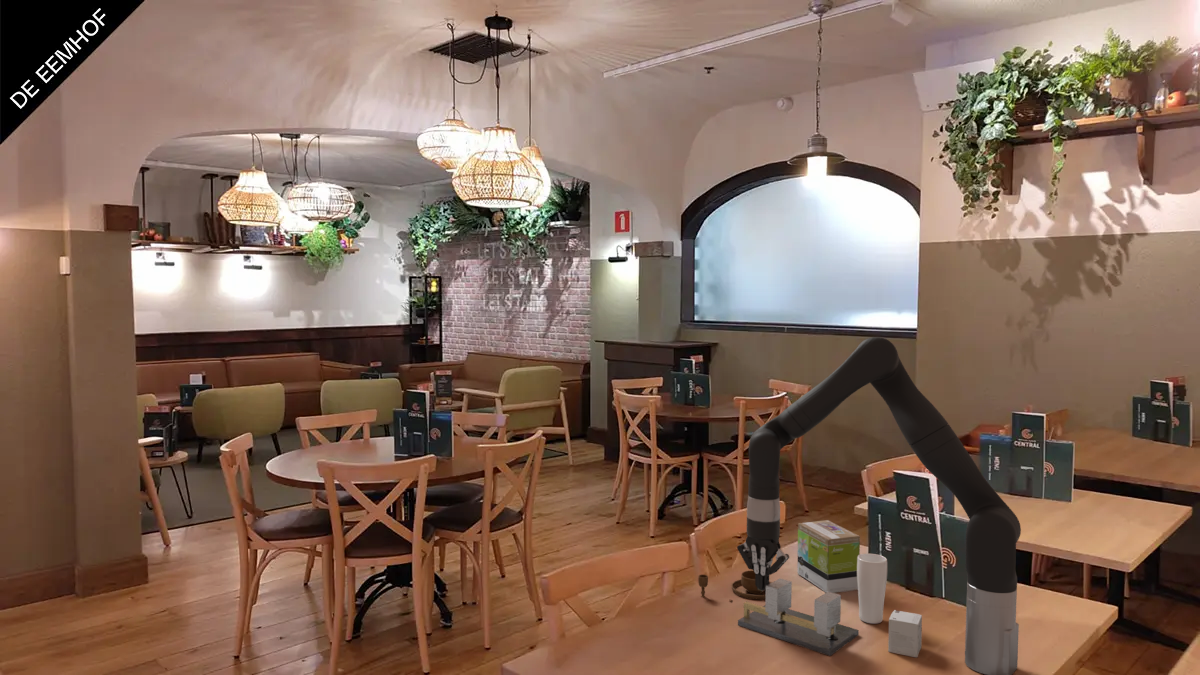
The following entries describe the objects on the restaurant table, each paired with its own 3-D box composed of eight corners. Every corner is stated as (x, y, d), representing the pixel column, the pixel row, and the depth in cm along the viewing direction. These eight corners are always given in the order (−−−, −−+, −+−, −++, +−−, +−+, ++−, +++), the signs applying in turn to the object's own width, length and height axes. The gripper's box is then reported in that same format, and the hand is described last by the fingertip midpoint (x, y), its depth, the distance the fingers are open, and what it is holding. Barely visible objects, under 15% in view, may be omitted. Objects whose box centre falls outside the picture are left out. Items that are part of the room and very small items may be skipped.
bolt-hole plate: (858, 635, 179) (858, 629, 179) (830, 655, 169) (830, 650, 169) (768, 607, 195) (769, 602, 195) (737, 625, 184) (737, 620, 184)
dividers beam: (839, 639, 174) (840, 595, 174) (826, 648, 170) (827, 603, 169) (753, 611, 189) (753, 571, 189) (738, 619, 185) (739, 578, 184)
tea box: (795, 574, 218) (796, 521, 217) (827, 571, 221) (828, 518, 220) (827, 594, 204) (828, 538, 203) (860, 590, 207) (861, 534, 206)
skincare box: (917, 658, 168) (918, 624, 168) (887, 652, 171) (888, 618, 171) (921, 647, 173) (922, 614, 173) (892, 641, 176) (893, 609, 176)
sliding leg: (791, 621, 183) (791, 581, 182) (776, 630, 178) (777, 589, 177) (779, 618, 185) (780, 578, 184) (765, 626, 180) (765, 585, 179)
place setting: (777, 608, 196) (777, 585, 195) (696, 601, 200) (696, 578, 200) (778, 583, 213) (779, 562, 212) (703, 577, 217) (704, 556, 217)
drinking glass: (887, 627, 184) (889, 563, 183) (857, 624, 185) (858, 561, 184) (883, 615, 190) (885, 554, 189) (854, 613, 192) (855, 552, 191)
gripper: (797, 518, 181) (795, 592, 182) (747, 507, 190) (746, 578, 191) (780, 525, 175) (779, 601, 176) (730, 513, 184) (728, 586, 185)
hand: (761, 589), depth 184 cm, fingers closed
